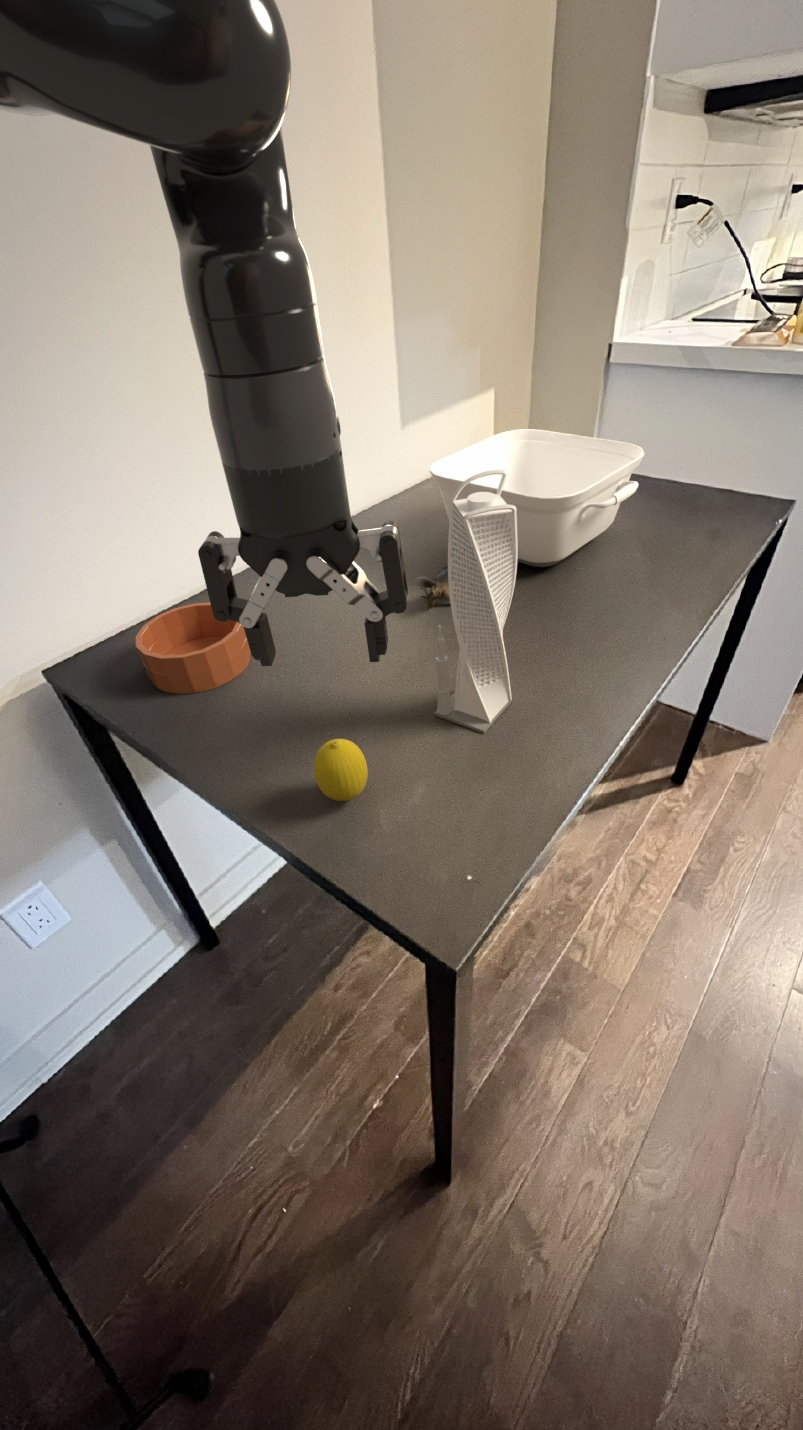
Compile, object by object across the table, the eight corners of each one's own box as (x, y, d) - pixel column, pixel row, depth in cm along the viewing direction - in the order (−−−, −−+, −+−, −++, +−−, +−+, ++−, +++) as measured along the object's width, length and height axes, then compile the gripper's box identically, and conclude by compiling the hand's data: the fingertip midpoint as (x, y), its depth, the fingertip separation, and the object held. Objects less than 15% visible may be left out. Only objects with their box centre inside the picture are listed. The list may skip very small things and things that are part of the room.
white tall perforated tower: (469, 679, 82) (464, 462, 65) (524, 697, 78) (536, 471, 61) (434, 715, 77) (419, 489, 60) (492, 736, 73) (494, 501, 56)
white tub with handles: (658, 535, 111) (674, 449, 101) (571, 601, 96) (580, 507, 86) (502, 499, 130) (503, 423, 121) (409, 549, 115) (402, 467, 106)
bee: (454, 615, 93) (491, 581, 97) (428, 575, 91) (466, 542, 95) (428, 623, 100) (463, 592, 103) (402, 586, 98) (439, 555, 101)
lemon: (310, 801, 68) (296, 747, 63) (346, 772, 71) (335, 717, 66) (347, 824, 65) (335, 769, 60) (382, 792, 68) (373, 737, 63)
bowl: (134, 695, 86) (118, 659, 82) (170, 638, 97) (158, 604, 94) (236, 692, 85) (225, 655, 81) (261, 634, 96) (252, 600, 92)
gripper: (149, 473, 37) (222, 691, 47) (390, 456, 35) (410, 683, 46) (188, 435, 42) (245, 636, 53) (396, 419, 41) (413, 629, 52)
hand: (322, 658), depth 49 cm, fingers open, 8 cm apart
